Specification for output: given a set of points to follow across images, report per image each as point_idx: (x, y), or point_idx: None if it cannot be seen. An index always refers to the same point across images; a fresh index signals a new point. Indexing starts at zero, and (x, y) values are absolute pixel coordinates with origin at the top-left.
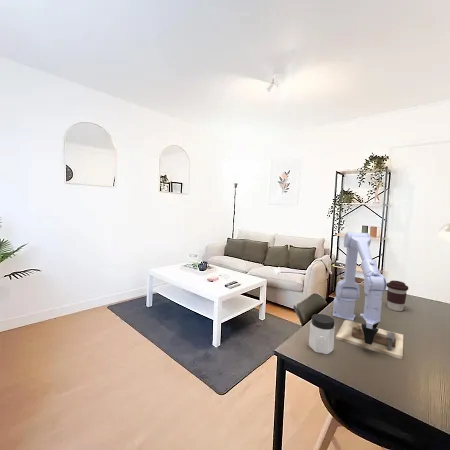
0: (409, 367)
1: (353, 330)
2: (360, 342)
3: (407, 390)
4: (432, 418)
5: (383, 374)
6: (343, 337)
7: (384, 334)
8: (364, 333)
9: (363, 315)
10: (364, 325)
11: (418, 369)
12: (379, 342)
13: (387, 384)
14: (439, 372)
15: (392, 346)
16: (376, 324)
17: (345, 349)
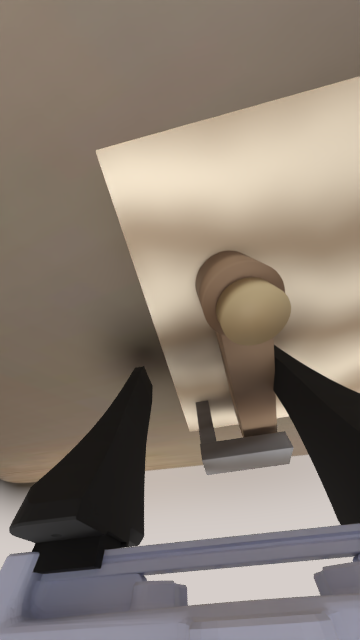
0: (160, 434)
1: (207, 285)
2: (169, 322)
3: (48, 449)
4: (14, 476)
5: (49, 415)
6: (136, 220)
7: (352, 363)
8: (93, 430)
9: None
10: (54, 533)
11: (170, 444)
12: (228, 382)
13: (16, 429)
14: (196, 461)
15: (234, 409)
16: (313, 455)
17: (50, 280)
